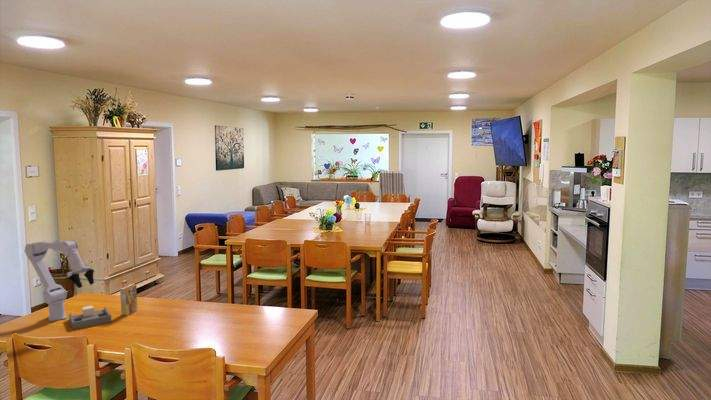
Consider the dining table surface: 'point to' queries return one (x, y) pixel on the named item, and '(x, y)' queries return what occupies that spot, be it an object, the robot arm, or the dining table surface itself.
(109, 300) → the dining table surface
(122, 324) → the dining table surface
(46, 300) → the robot arm
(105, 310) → the trap box
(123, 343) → the dining table surface
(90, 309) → the cream block
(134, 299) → the candy box
